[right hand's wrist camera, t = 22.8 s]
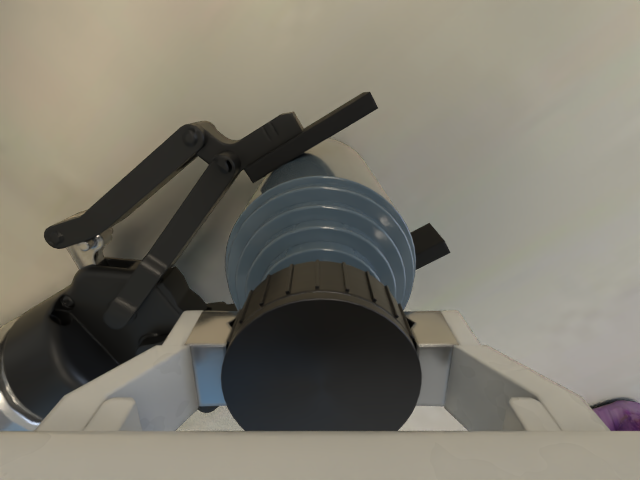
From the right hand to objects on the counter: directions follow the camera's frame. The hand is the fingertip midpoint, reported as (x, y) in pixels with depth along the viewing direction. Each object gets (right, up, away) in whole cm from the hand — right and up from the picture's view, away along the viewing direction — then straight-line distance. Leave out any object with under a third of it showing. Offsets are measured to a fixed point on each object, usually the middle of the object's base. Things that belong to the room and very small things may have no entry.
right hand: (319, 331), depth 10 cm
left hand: (+4, +6, +8) cm, 11 cm away
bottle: (0, +6, +15) cm, 16 cm away
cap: (0, -1, -2) cm, 2 cm away
